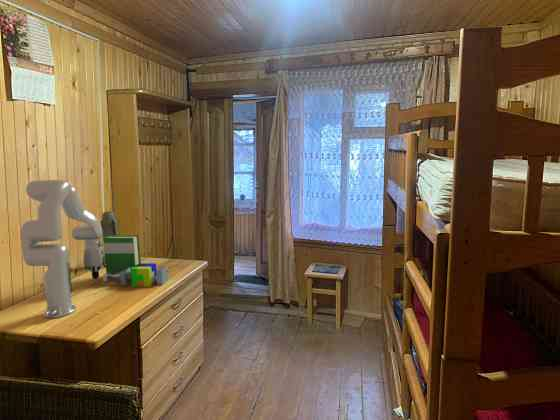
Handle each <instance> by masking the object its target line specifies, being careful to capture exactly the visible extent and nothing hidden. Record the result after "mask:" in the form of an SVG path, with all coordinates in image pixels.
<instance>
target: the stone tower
mask: <svg viewBox="0 0 560 420" xmlns="http://www.w3.org/2000/svg"><path fill="white" fill-rule="evenodd" d="M101 216H102V217H101V218H102V219H101V220H100V225H101V227H102V239H103V238H104V237H107V236H110V235H118V234H119V232H118V230H119V229H118V228H119V227H118V221H117V219H116V215H115V212H113V211H111V210H110V211H104V212H103V213H102V215H101Z"/></svg>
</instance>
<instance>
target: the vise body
mask: <svg viewBox="0 0 560 420" xmlns="http://www.w3.org/2000/svg"><path fill="white" fill-rule="evenodd" d="M168 271H169V270H168V269H167V265H161V266H159V267H158V268H157V269H156V275H157V281H156V283H157V284H156V285H157V286H163V285H164V284H165V283H166V282H167V280H168V279H169V272H168ZM113 274H120V271H117V272H113ZM113 282H121V279H120V278H114V279H113ZM130 282H132V279H131V281H130Z"/></svg>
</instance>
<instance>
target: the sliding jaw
mask: <svg viewBox="0 0 560 420" xmlns="http://www.w3.org/2000/svg"><path fill="white" fill-rule="evenodd" d="M110 278H120V279H121V281H120V286H121V287H127V285H128V284H130V283H131V282H132V281H131V269H130V267H125V268H124V269H123V270H121V271H120V274H113V275H111V272H107V273H106V272H105V273H104V274H103V275H102V281H103V282H107V281H108V280H110Z"/></svg>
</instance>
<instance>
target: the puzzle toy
mask: <svg viewBox="0 0 560 420" xmlns="http://www.w3.org/2000/svg"><path fill="white" fill-rule="evenodd" d="M156 270H157V263H156V262H154V263H153V262H152V263H151V262H150V263H149V262H148V263H142V262H141V263H139V264H137V265H135V266H134V267H132V268H131V279H132V281H131V286H132V287H151V286H153V285H154V284H155V283H157V275H156Z"/></svg>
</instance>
